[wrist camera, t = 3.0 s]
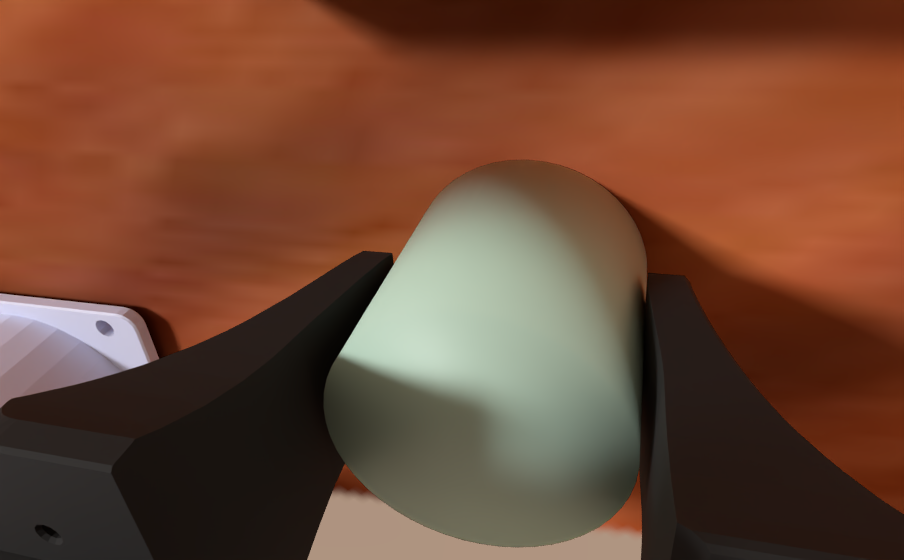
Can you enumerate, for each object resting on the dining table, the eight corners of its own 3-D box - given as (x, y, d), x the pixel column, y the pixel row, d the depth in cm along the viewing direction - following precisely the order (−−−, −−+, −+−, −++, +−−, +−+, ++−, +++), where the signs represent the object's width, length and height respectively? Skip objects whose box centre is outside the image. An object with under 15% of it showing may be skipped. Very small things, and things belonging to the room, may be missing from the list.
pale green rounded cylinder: (427, 345, 16) (348, 519, 12) (406, 154, 14) (296, 295, 9) (637, 368, 15) (627, 570, 11) (658, 164, 12) (655, 330, 8)
